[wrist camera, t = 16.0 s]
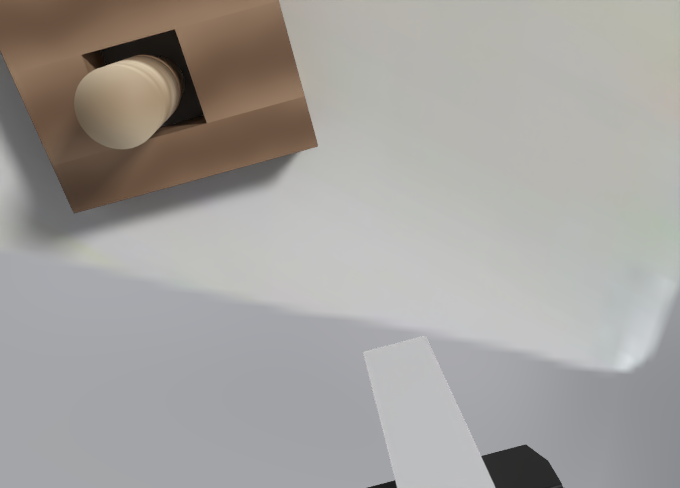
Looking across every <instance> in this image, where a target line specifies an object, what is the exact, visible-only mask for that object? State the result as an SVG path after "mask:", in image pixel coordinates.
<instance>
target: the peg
mask: <svg viewBox="0 0 680 488" xmlns="http://www.w3.org/2000/svg"><path fill="white" fill-rule="evenodd" d="M184 88H185V81H184V76H183V74H182V72H181V70H180V68H179V67H178V66H177V65H176V64H175V63H174V62H173V61H172V60H170V59H168V58H166V57H164V56H159V55H136V56H132V57H130V58H127V59H124V60H121V61H118V62H115V63H112V64H109V65H107V66H104V67H101V68H98V69H95V70H93V71H92V72H90V73H89V74H87V75H86V76H85V77H84V78H83V79H82V81H81V82H80V83H79V85H78V87H77V90H76V92H75V97H74V108H75V113H76V117H77V119H78V121H79V123H80V125H81V127H82V128H83V130H84V131H85V132H86V133H87V134H88V135H89V136H90V137H91V138H92V139H93V140H95V141H96V142H98V143H100V144H101V145H104V146H106V147H109V148H114V149H130V148H134V147H137V146H139V145H141V144H143V143H144V142H145V141H147V140H148V139H149V138H150V137H151V136H152V135H153V134H154V133H155V132H156V131H157V130H158V129H159V128H160V127H161V126H162V124H163V123H164V122H165V121H166V120H167V119H168V118H169V117H170V116H171V115H172V114H173V113H174V112H175V111H176V109H177V107H178V106H179V103H180V100H181V97H182V95H183V93H184Z"/></svg>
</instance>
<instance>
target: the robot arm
mask: <svg viewBox="0 0 680 488" xmlns="http://www.w3.org/2000/svg"><path fill="white" fill-rule="evenodd" d="M363 355H364V359H365V363H366V367H367V370H368V374H369V378H370V382H371V386H372V390H373V394H374V398H375V402H376V406H377V410H378V414H379V418H380V422H381V426H382V430H383V434H384V437H385V441H386V446H387V450H388V454H389V458H390V461H391V465H392V469H393V473H394V477H395V481H391V482H387V483H384V484H380V485H376V486H372V487H368V488H563V486H562V483H561V482H560V480H559V478H558V477H557V475H556V473H555V472H554V470H553V468H552V467H551V465H550V463H549V462H548V460H546V459H545V458H543V457H542V456H540V455H539V454H538V453H537V452H535V451H534V450H533V449H531V448H530V447H528V446H527V445H522V446H518V447H514V448H511V449H507V450H503V451H499V452H495V453H491V454H488V455H484V456H481V455H480V453H479V451H478V449H477V447H476V444H475V442H474V440H473V438H472V436H471V433H470V431H469V429H468V427H467V425H466V423H465V420H464V418H463V416H462V414H461V412H460V409H459V407H458V405H457V403H456V401H455V399H454V396H453V394H452V392H451V390H450V388H449V386H448V383H447V381H446V379H445V377H444V375H443V373H442V370H441V368H440V366H439V364H438V362H437V359H436V357H435V355H434V353H433V351H432V349H431V347H430V344H429V342H428V340H427V338H426V336H421V337H418V338H414V339H410V340H406V341H402V342H399V343H394V344H391V345H387V346H383V347H379V348H375V349H371V350H368V351H364V352H363Z"/></svg>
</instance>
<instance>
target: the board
mask: <svg viewBox="0 0 680 488" xmlns="http://www.w3.org/2000/svg"><path fill="white" fill-rule="evenodd" d="M172 30H175V31H176V34H177V37H178V40H179V43H180V46H181V49H182V52H183V55H184V58H185V60H186V63H187V66H188V69H189V72H190V75H191V78H192V81H193V84H194V87H195V90H196V93H197V96H198V99H199V102H200V105H201V108H202V111H203V113H204V115H203V116H199V117H195V118H192V119H188V120H184V121H181V122H177V123H174V124H170V125H166V126H163V127H160V128H159V129H158V130H157V131H156V132H155V133H154V134H153V135H152V136H151V137H150V138H149V139H148V140H147V141H145V142H144V143H143V144H141V145H139V146H137V147H134V148H130V149H114V148H109V147H106V146H104V145H101V144H100V143H98V142H96V141H95V140H93V139H92V138H91V137H90V136H89V135H88V134H87V133H86V132H85V131H84V130H83V128H82V127H81V125H80V123H79V121H78V119H77V117H76V113H75V108H74V97H75V92H76V90H77V87H78V85H79V83H80V82H81V81H82V79H83V78H84V77H85V76H86V75H87V74H89V73H90V72H92V71H93V70H95V69H98V68H101V67H104V66H106V64H105V62H104V59H103V57H102V54H101V52H100V50H103V49H106V48H110V47H114V46H117V45H121V44H125V43H128V42H132V41H135V40H139V39H143V38H146V37H150V36H154V35H157V34H161V33H165V32H168V31H172ZM0 51H1V53H2V56H3V58H4V60H5V62H6V64H7V67H8V69H9V71H10V73H11V75H12V78H13V80H14V82H15V84H16V86H17V89H18V91H19V93H20V95H21V98H22V100H23V102H24V104H25V106H26V109H27V111H28V113H29V115H30V117H31V120H32V122H33V124H34V126H35V128H36V131H37V133H38V135H39V137H40V140H41V142H42V144H43V146H44V148H45V151H46V153H47V155H48V157H49V159H50V162H51V164H52V166H53V168H54V170H55V173H56V175H57V177H58V179H59V181H60V184H61V186H62V188H63V190H64V193H65V195H66V197H67V199H68V201H69V204H70V206H71V208H72V210H73V212H74V213H77V212H81V211H85V210H88V209H92V208H95V207H99V206H103V205H106V204H110V203H114V202H117V201H121V200H125V199H128V198H132V197H135V196H139V195H143V194H146V193H150V192H154V191H157V190H161V189H165V188H168V187H172V186H176V185H179V184H183V183H186V182H190V181H194V180H197V179H201V178H205V177H208V176H212V175H216V174H219V173H223V172H227V171H230V170H234V169H237V168H241V167H245V166H248V165H252V164H256V163H259V162H263V161H267V160H270V159H274V158H278V157H281V156H285V155H288V154H292V153H296V152H299V151H303V150H307V149H310V148H314V147H318V144H317V140H316V136H315V133H314V129H313V125H312V122H311V118H310V114H309V111H308V107H307V103H306V100H305V96H304V92H303V89H302V85H301V81H300V78H299V74H298V70H297V67H296V63H295V59H294V55H293V52H292V48H291V44H290V41H289V37H288V33H287V30H286V26H285V22H284V19H283V15H282V11H281V8H280V4H279V0H0Z"/></svg>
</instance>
